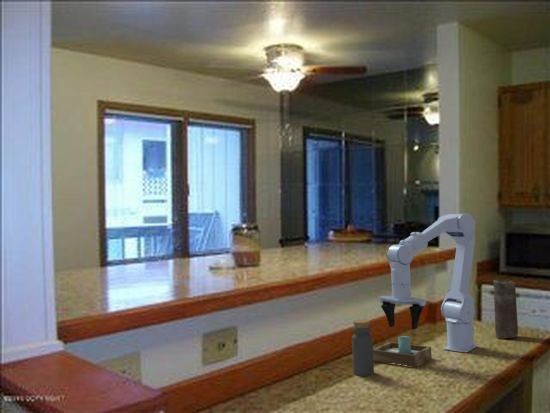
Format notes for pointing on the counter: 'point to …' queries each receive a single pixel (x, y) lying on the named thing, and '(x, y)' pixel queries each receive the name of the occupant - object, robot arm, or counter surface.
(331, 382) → the counter surface
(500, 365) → the counter surface
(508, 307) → the candle
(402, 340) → the peg
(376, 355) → the box
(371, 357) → the bottle
